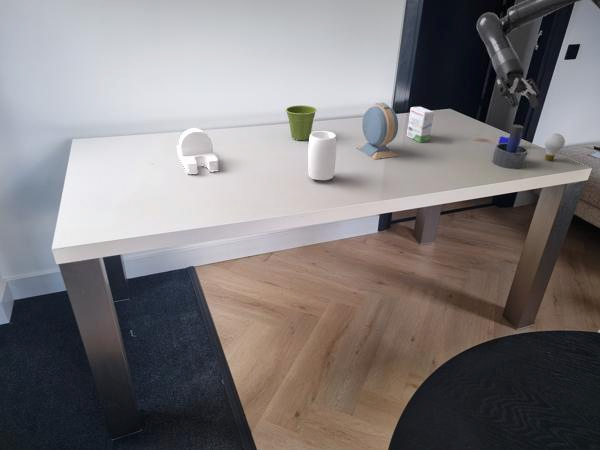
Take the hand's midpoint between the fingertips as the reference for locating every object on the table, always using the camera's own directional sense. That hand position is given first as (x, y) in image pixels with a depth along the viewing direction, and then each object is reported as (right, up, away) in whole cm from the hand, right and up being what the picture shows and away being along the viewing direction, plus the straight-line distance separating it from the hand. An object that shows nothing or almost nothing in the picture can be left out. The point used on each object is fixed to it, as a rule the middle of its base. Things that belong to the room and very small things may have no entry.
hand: (525, 106), depth 136 cm
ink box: (-25, -4, +34) cm, 43 cm away
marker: (0, -16, +12) cm, 20 cm away
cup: (-65, -23, -1) cm, 69 cm away
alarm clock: (-44, -11, +21) cm, 50 cm away
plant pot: (-71, -4, +32) cm, 79 cm away
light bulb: (+16, -15, +16) cm, 27 cm away
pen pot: (0, -17, +12) cm, 21 cm away
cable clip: (+6, -10, +25) cm, 28 cm away
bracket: (-106, -17, +8) cm, 108 cm away
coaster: (0, -5, +32) cm, 32 cm away
